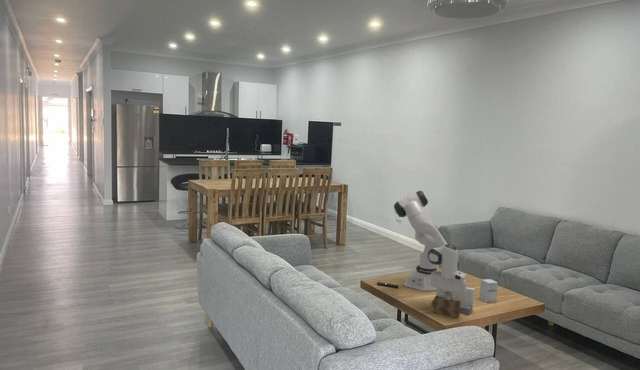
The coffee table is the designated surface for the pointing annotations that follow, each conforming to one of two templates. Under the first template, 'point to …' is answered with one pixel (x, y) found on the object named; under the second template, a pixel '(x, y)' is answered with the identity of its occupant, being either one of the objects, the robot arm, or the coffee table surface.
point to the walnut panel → (447, 305)
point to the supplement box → (488, 290)
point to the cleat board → (461, 299)
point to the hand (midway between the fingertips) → (447, 297)
